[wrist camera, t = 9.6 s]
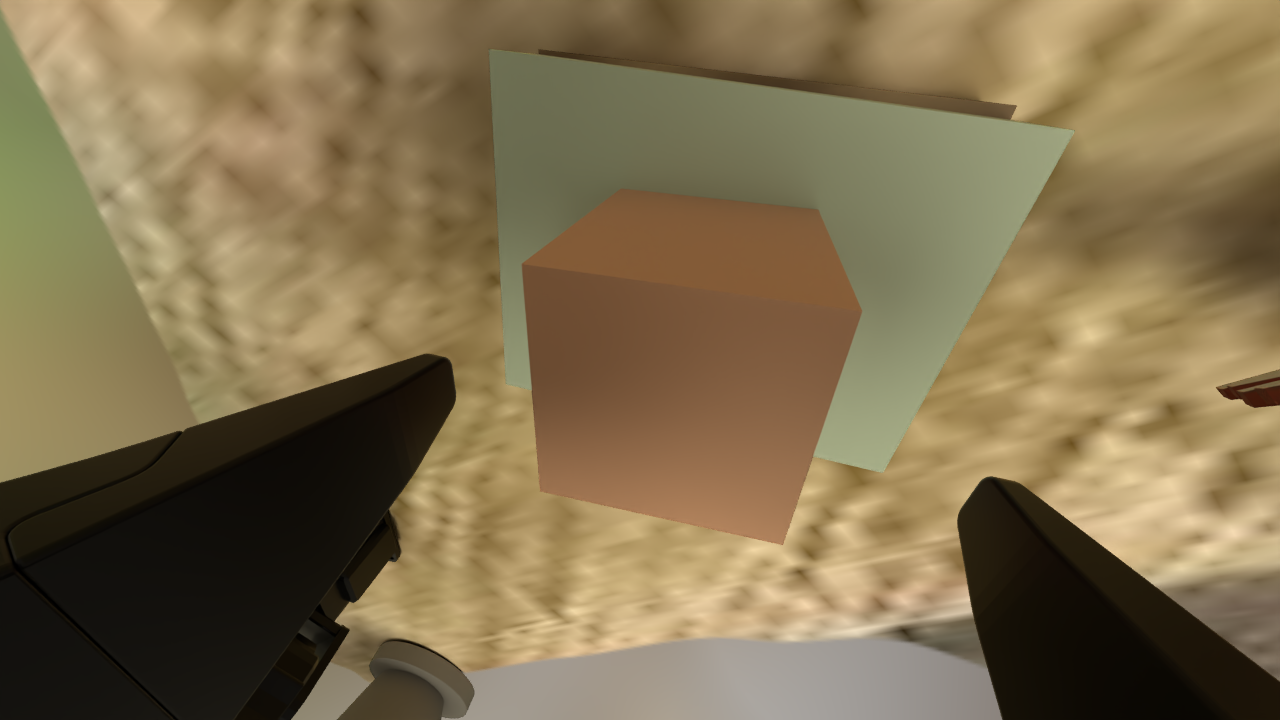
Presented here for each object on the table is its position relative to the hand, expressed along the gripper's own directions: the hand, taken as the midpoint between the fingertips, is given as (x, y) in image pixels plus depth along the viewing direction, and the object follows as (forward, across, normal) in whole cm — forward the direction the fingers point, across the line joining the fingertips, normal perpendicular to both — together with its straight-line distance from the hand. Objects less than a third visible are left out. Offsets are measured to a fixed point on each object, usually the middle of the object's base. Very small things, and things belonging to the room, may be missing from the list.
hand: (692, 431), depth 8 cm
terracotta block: (+6, 0, 0) cm, 6 cm away
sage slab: (+9, 0, 0) cm, 9 cm away
